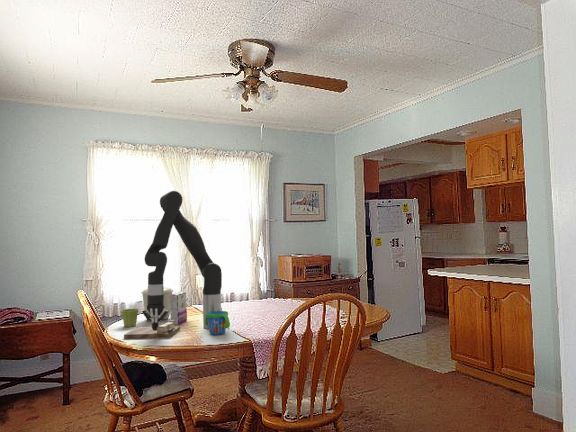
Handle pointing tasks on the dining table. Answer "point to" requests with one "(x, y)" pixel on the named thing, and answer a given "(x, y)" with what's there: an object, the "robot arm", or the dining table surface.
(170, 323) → the folding leg
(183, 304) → the candy bar box
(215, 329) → the snack cup
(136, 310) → the plant pot
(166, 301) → the canister
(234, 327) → the dining table surface
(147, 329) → the walnut board
